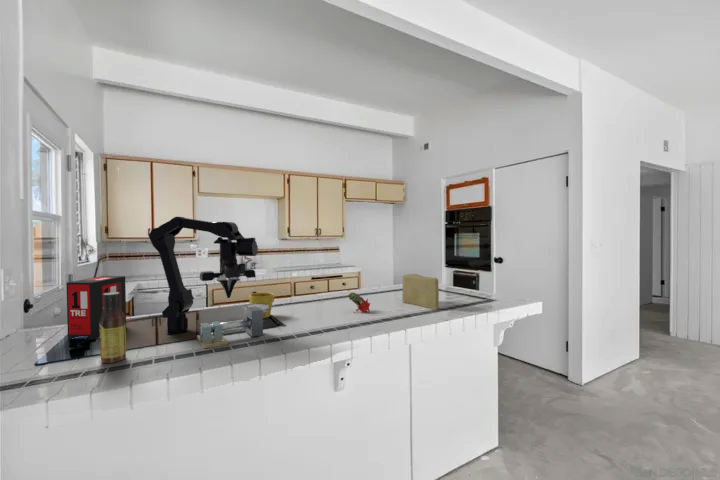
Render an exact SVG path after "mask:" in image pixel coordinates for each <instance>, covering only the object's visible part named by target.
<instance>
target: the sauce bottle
mask: <svg viewBox="0 0 720 480" xmlns="http://www.w3.org/2000/svg"><path fill="white" fill-rule="evenodd" d="M119 298H120V293H119V292H110V293H104V294H103V300H104V310H103V312H102V315H101V318H100V321H99V332H100V338H99V353H100V354H99V355H100V360H101V362H102V363H103V364H104V363H105V364H111V363H117V362H121V361H123V360H125V358H126V357H127V354H126V353H127V333H126V329H127V327H125V315H124V313H123V312H122V311H121V309H120V308H119V307H120V305H119Z"/></svg>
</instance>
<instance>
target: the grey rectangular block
mask: <svg viewBox="0 0 720 480" xmlns="http://www.w3.org/2000/svg"><path fill="white" fill-rule="evenodd" d="M245 310H246V312H245V319H250V322H251V327H248V328H245V333H247V334H248V335H249V336H251V337H253V338H254V337H257V336H259V337H260V336H263V335H264V318H263V310H262V309H260V308H259V307H257V306H253V307H246V306H245V307H244V311H245Z"/></svg>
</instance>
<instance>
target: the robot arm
mask: <svg viewBox="0 0 720 480" xmlns="http://www.w3.org/2000/svg"><path fill="white" fill-rule="evenodd" d="M183 229H188V230H194V231H201V232H206V233H211V234H213V235H215V236H218V237H217V239H216V240H214V241H213V244H214V245H215V244H218V245H219V272H214V271H212V270H208V271H207V270H206V271H200V273H199V280H200V281H202V282H207V281H208V282H209V281H210V282H211V281H213V280H215V279H216V281H217V282H219V283H220V285H221V286H222V288H223V290H224V294H225V296H226V298H227V299H230V298H231V297H232V293H233V291H234V287H235V286H236V284H237V282H240V281H241V279H240V277H245V278H247V279H248V278H249V279H251V278H256V271H255V270H254V269H252V268H246V264H245V263H243V262H242V263H238V259H237V255H238V256H240V257H256V256H257V255H258V249H259V247H258V244H257V241H256V237H244V236H243V234H242V233H241V232H240V230H239V227H238V225H237V224H236V223H235V222H233V221H232V222H231V221H206V220H202V219H196V218H195V219H194V218H187V217H184V216H174V217H172V218H171V219H170V220H168V221H167V222H165V223H163V224H160V225H159V226H158V227H154V228H152V229H151V230H150V232H149V234H148V239H149V240H150V243H151V245H152V247H153V248H154V249H155V250H156V251H157V252H158V255H159V256H160V260H161V261H160V262H161V265H162V267H163V271H164V274H165V279H166V282H167V285H168V289H169V292H168V297H167V301H168V302H167V303H168V305H167V306H166V307H165V309H164V310H163V311H161V315H162V317H163V318H164V319H165V318H166V329H165V332H166V334H167V335H173V334H175V335H176V334H181V333H186V332H188V329H189V318H188V317H187V313H189V311H190V308H191V307H192V306H193V305H194V299H195V297H194V295H193V290H192V289H191V288H189V289H188V288H186V287H185V286H184V281H183V278H182V274H181V272H180V268H179V265H178V260H177V257H176V252H175V244H176V238H175V237H177V236H178V235H179V234H180V232H181V231H182V230H183Z"/></svg>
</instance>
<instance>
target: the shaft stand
mask: <svg viewBox="0 0 720 480" xmlns="http://www.w3.org/2000/svg"><path fill="white" fill-rule="evenodd" d="M248 327H251V322H250V319H246V318H245V319H237V320H232V321H231V320H230V321H224V322H220V321H219V320H217V321H211V322H210V324H209V322H202V323H199V335H196V340H197V341H198V343H199V344H200V346H201V347H202V349H203V350H205V349H209V348H215V347H222V346H227V345H228V342H229V340H228V339H226V337H225V336H224V335H223V332H227V331H228V332H229V331H234V330H242V329H246V328H248ZM226 344H227V345H226ZM221 345H222V346H221ZM204 348H205V349H204Z"/></svg>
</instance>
